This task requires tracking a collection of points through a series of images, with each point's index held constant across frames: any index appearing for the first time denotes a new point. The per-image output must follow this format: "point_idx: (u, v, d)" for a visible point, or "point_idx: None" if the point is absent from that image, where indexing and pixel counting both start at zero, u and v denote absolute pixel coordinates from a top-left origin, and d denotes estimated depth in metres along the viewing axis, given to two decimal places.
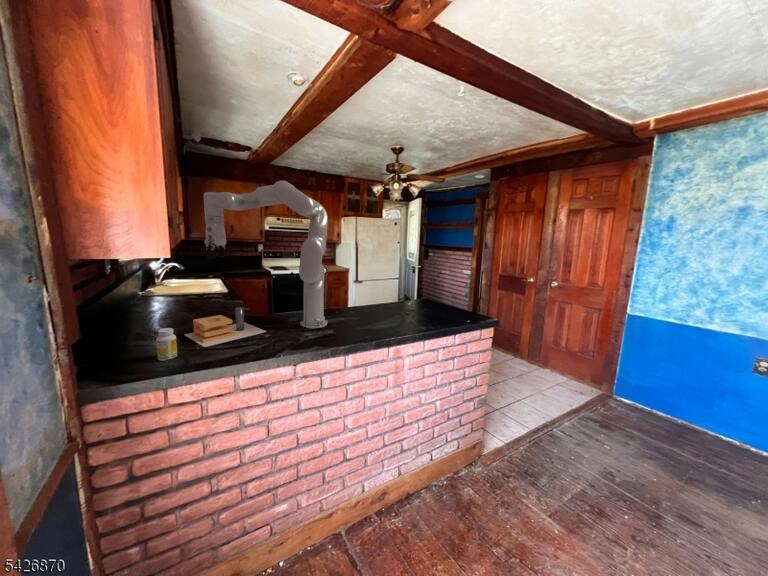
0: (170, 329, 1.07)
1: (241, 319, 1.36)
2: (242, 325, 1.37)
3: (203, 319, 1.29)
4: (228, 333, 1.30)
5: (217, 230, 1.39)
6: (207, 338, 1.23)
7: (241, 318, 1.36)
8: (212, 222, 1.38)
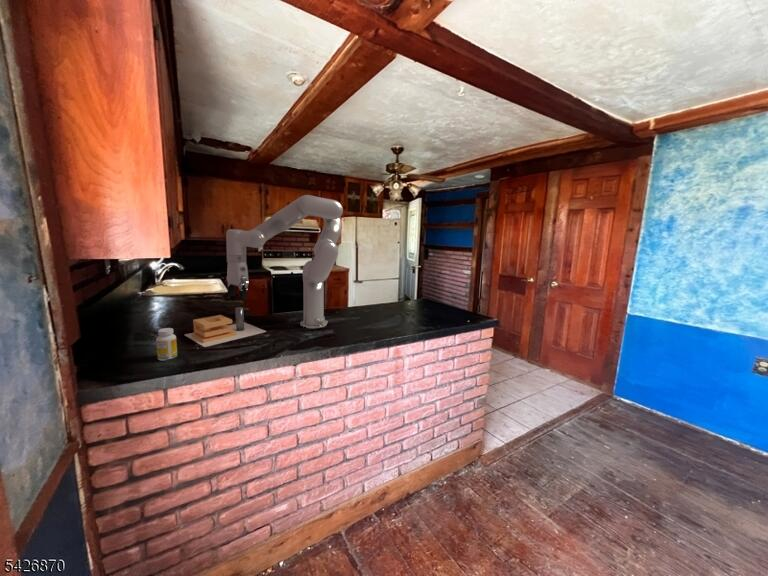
0: (170, 329, 1.07)
1: (241, 319, 1.36)
2: (242, 325, 1.37)
3: (203, 319, 1.29)
4: (228, 333, 1.30)
5: None
6: (207, 338, 1.23)
7: (241, 318, 1.36)
8: (242, 261, 1.31)
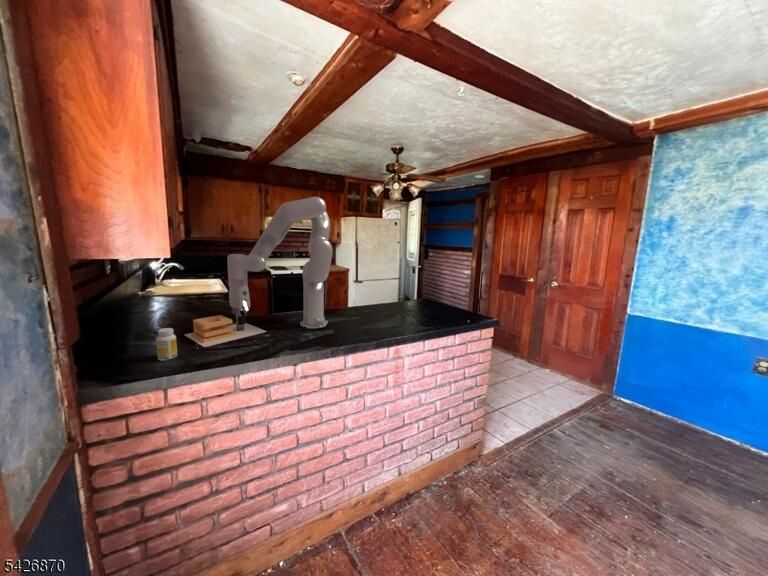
0: (170, 329, 1.07)
1: None
2: (242, 325, 1.37)
3: (203, 319, 1.29)
4: (228, 333, 1.30)
5: None
6: (207, 338, 1.23)
7: None
8: (244, 285, 1.33)
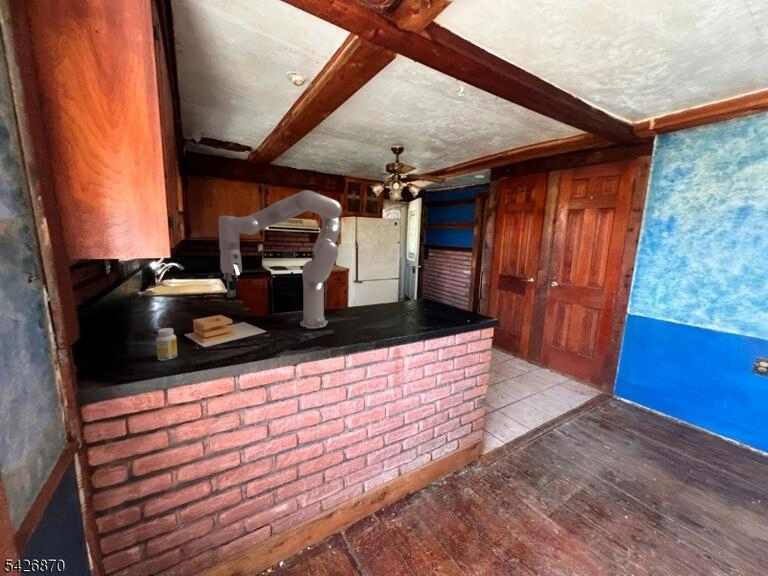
0: (170, 329, 1.07)
1: None
2: (233, 291, 1.32)
3: (203, 319, 1.29)
4: (228, 333, 1.30)
5: None
6: (207, 338, 1.23)
7: None
8: (236, 249, 1.28)
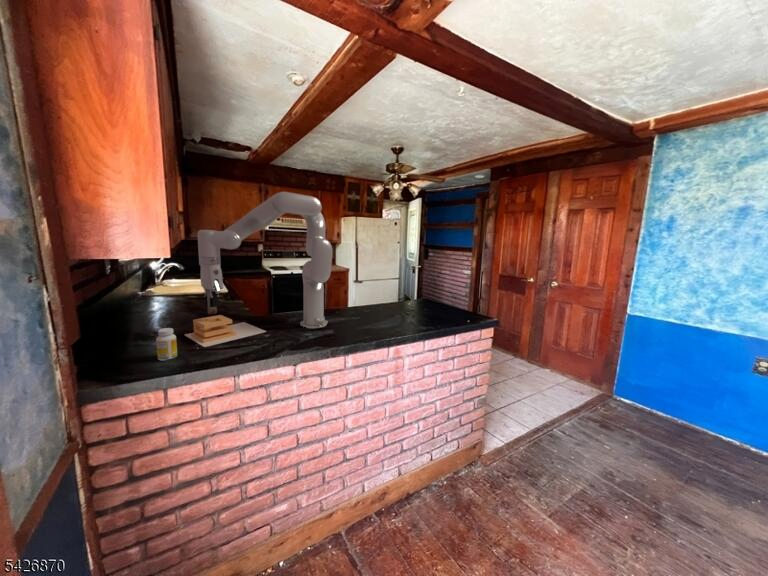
0: (170, 329, 1.07)
1: None
2: (214, 307, 1.27)
3: (203, 319, 1.29)
4: (228, 333, 1.30)
5: None
6: (207, 338, 1.23)
7: None
8: (216, 264, 1.23)
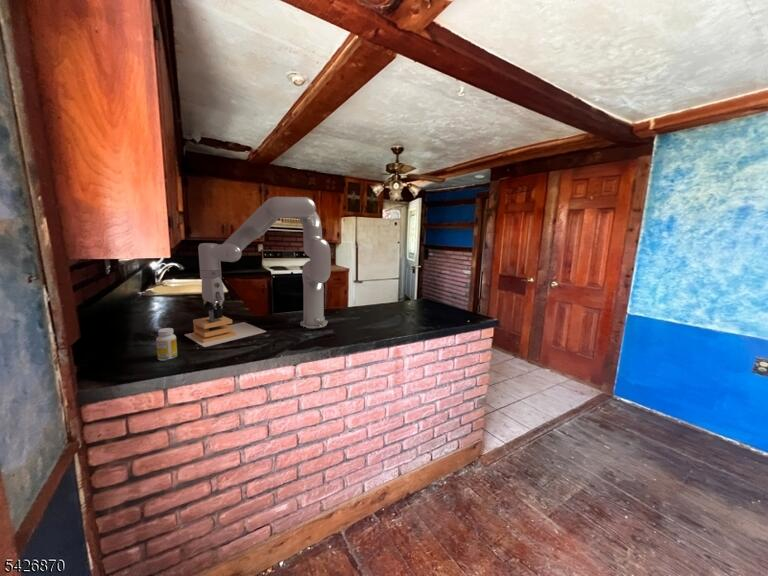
0: (170, 329, 1.07)
1: None
2: (216, 328, 1.28)
3: (203, 319, 1.29)
4: (228, 333, 1.30)
5: None
6: (207, 338, 1.23)
7: (215, 321, 1.28)
8: (217, 277, 1.23)
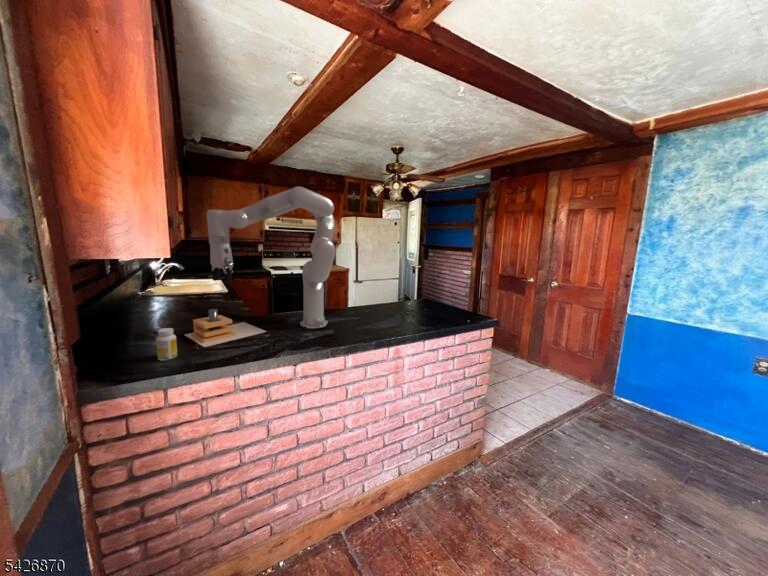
0: (170, 329, 1.07)
1: None
2: (216, 328, 1.28)
3: (203, 319, 1.29)
4: (228, 333, 1.30)
5: None
6: (207, 338, 1.23)
7: (215, 321, 1.28)
8: (226, 243, 1.26)
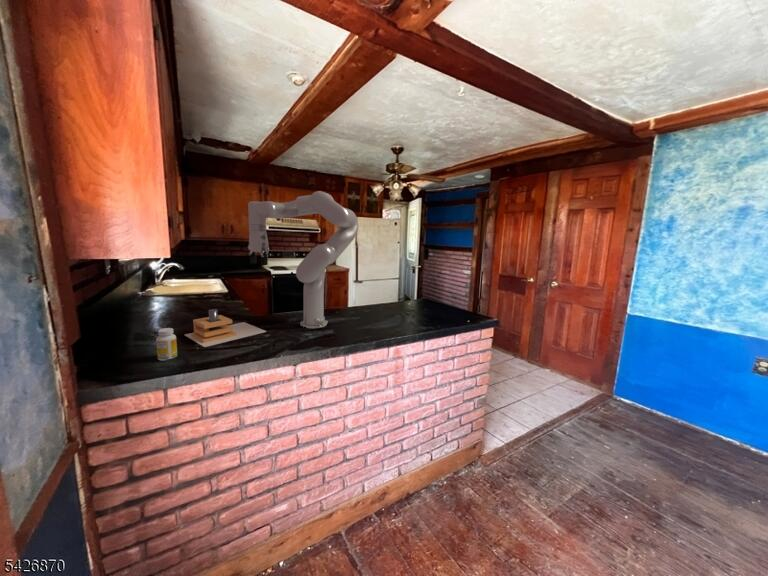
0: (170, 329, 1.07)
1: None
2: (216, 328, 1.28)
3: (203, 319, 1.29)
4: (228, 333, 1.30)
5: None
6: (207, 338, 1.23)
7: (215, 321, 1.28)
8: (263, 230, 1.46)
